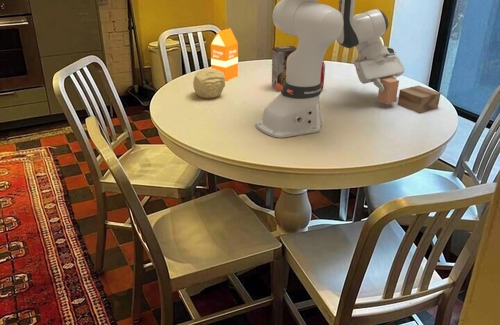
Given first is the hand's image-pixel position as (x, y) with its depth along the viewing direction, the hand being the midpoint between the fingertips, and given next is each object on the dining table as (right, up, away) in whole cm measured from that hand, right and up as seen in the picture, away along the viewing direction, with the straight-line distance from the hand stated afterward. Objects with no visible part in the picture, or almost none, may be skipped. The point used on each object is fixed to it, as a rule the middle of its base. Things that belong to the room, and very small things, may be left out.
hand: (389, 89), depth 173 cm
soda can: (-24, +3, +19) cm, 31 cm away
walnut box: (+11, -6, +3) cm, 13 cm away
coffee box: (-36, +3, +21) cm, 42 cm away
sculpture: (-66, -1, +12) cm, 67 cm away
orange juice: (-61, +10, +33) cm, 70 cm away
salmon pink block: (0, -4, +2) cm, 5 cm away
